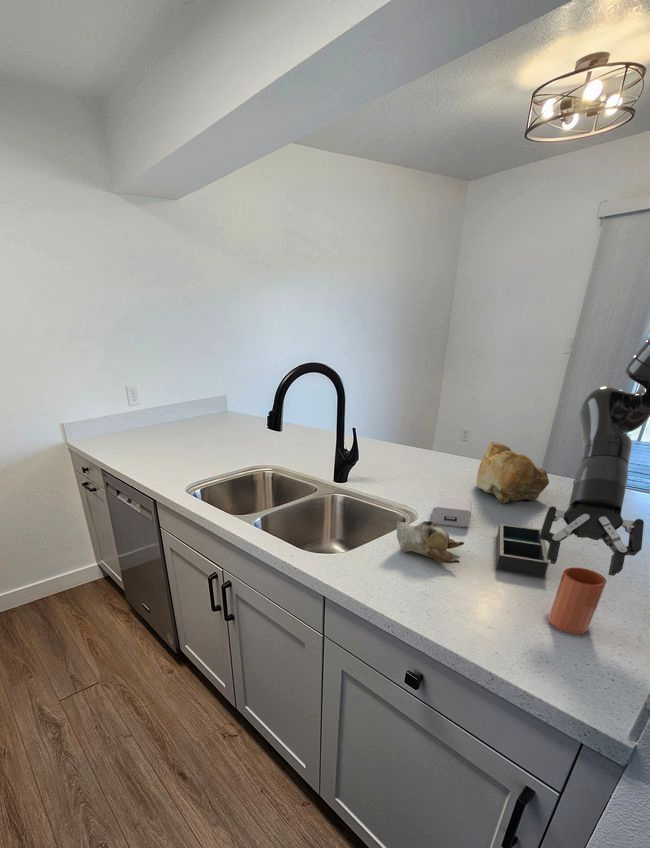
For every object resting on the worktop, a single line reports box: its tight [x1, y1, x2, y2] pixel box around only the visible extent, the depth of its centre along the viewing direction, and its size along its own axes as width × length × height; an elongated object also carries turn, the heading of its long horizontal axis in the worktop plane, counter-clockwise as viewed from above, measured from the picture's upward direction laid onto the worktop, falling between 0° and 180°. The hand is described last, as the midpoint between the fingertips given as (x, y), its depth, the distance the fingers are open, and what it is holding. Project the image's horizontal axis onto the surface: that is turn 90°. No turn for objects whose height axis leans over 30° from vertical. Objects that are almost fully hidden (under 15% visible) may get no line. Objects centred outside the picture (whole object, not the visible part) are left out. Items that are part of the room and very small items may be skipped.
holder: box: [495, 523, 550, 579], centre depth 99 cm, size 9×17×4 cm, turn 152°
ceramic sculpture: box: [396, 520, 465, 564], centre depth 100 cm, size 11×9×15 cm
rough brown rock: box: [476, 441, 550, 504], centre depth 127 cm, size 23×17×15 cm
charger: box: [430, 495, 473, 528], centre depth 120 cm, size 5×9×15 cm
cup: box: [548, 567, 607, 635], centre depth 76 cm, size 6×6×10 cm
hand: (582, 568), depth 77 cm, fingers open, 8 cm apart
